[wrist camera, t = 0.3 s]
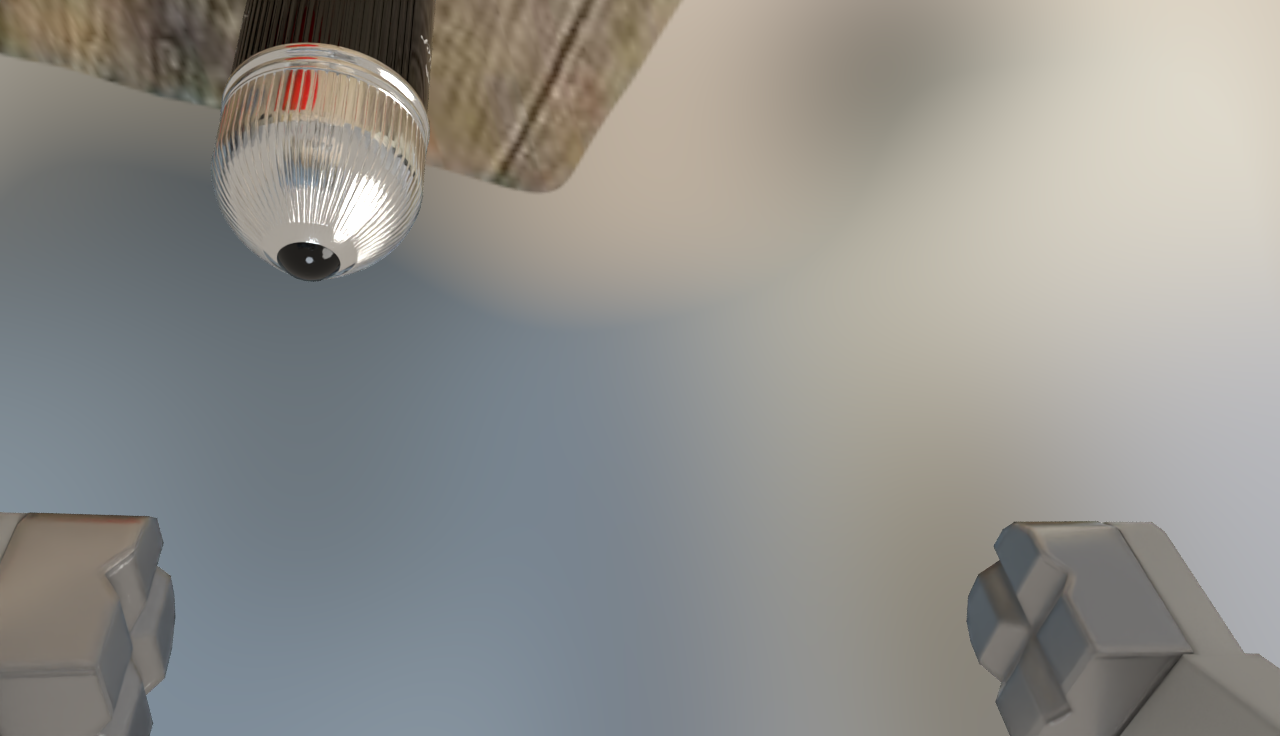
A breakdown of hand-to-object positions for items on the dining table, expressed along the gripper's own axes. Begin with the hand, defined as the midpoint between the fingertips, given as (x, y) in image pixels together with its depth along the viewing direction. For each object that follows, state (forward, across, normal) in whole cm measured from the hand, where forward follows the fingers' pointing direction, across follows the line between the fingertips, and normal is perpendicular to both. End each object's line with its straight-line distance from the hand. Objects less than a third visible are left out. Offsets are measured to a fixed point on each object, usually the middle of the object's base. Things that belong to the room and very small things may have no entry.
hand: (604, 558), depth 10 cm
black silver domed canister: (+59, +8, +14) cm, 61 cm away
